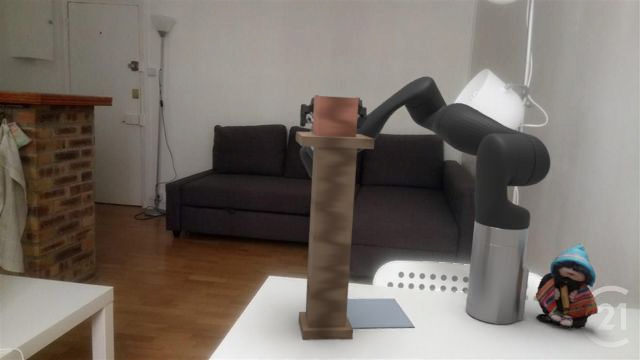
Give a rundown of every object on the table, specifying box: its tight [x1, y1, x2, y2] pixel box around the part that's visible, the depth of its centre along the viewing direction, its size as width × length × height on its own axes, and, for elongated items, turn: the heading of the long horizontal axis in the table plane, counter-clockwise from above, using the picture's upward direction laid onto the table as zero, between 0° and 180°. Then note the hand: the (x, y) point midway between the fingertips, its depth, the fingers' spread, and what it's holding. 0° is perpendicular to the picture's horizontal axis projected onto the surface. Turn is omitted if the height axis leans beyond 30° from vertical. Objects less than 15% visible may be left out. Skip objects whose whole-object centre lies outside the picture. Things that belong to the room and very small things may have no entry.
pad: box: [347, 298, 416, 330], centre depth 89 cm, size 11×12×1 cm
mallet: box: [313, 95, 360, 137], centre depth 84 cm, size 6×17×6 cm, turn 9°
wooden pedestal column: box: [295, 131, 376, 341], centre depth 81 cm, size 11×10×32 cm
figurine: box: [535, 243, 599, 330], centre depth 87 cm, size 10×7×15 cm
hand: (338, 100), depth 101 cm, fingers open, 8 cm apart
